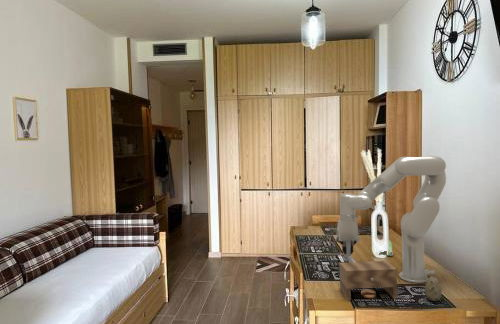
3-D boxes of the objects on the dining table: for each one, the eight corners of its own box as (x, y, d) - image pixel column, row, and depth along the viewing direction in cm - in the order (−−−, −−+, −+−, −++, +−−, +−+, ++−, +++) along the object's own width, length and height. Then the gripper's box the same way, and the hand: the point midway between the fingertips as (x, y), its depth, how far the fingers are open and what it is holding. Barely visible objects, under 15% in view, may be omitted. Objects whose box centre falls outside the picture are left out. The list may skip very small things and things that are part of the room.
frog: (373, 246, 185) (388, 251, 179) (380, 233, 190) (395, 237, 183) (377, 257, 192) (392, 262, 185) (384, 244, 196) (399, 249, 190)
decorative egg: (435, 296, 133) (435, 273, 132) (445, 303, 127) (444, 279, 126) (422, 297, 133) (421, 274, 132) (430, 304, 127) (430, 279, 126)
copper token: (372, 292, 140) (372, 288, 140) (378, 298, 134) (378, 294, 134) (359, 292, 140) (358, 289, 140) (364, 299, 134) (364, 295, 134)
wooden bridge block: (386, 288, 143) (386, 260, 142) (398, 299, 132) (397, 269, 131) (340, 290, 142) (339, 262, 142) (347, 301, 132) (347, 271, 131)
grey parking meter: (352, 258, 165) (352, 235, 164) (366, 271, 145) (366, 245, 145) (339, 258, 165) (339, 235, 164) (351, 272, 145) (351, 246, 145)
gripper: (360, 216, 165) (360, 250, 166) (330, 216, 165) (330, 251, 166) (366, 219, 158) (366, 255, 158) (333, 219, 157) (334, 256, 158)
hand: (347, 253), depth 162 cm, fingers closed on grey parking meter
